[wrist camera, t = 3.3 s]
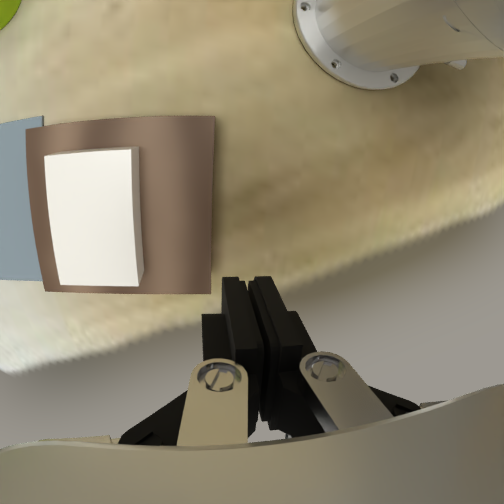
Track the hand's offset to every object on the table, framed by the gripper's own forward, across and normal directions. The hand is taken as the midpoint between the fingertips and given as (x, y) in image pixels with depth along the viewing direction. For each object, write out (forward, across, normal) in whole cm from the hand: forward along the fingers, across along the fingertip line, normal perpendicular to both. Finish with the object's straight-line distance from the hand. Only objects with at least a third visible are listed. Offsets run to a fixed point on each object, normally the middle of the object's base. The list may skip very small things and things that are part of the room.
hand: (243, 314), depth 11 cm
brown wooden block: (+16, +8, -1) cm, 18 cm away
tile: (+12, +9, 0) cm, 15 cm away
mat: (+16, +20, -1) cm, 26 cm away
